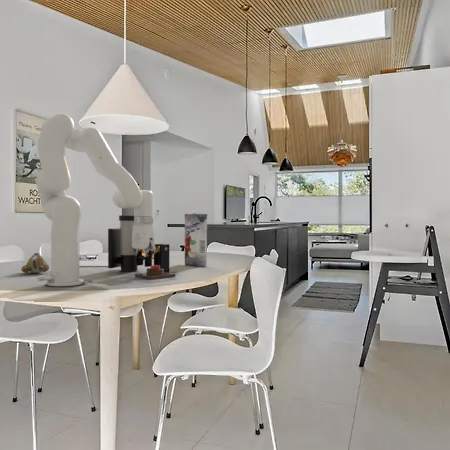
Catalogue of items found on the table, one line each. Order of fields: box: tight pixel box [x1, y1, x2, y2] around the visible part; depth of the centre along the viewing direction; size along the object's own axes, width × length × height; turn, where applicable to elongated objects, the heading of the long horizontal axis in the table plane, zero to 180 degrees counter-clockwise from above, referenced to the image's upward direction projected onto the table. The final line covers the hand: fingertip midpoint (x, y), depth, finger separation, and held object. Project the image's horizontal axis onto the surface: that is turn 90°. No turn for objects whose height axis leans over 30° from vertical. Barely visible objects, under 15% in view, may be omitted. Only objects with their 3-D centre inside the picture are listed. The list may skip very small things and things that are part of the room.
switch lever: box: [138, 246, 160, 261], centre depth 178 cm, size 12×5×2 cm, turn 136°
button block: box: [134, 267, 176, 281], centre depth 168 cm, size 12×10×4 cm
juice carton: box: [184, 210, 208, 268], centre depth 212 cm, size 9×10×27 cm
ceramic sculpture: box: [21, 252, 50, 274], centre depth 185 cm, size 11×9×15 cm
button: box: [150, 264, 160, 270], centre depth 168 cm, size 4×4×2 cm
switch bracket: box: [145, 243, 176, 274], centre depth 181 cm, size 10×8×13 cm
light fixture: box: [107, 214, 140, 273], centre depth 185 cm, size 12×11×25 cm
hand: (143, 265), depth 175 cm, fingers closed on switch lever, 5 cm apart
